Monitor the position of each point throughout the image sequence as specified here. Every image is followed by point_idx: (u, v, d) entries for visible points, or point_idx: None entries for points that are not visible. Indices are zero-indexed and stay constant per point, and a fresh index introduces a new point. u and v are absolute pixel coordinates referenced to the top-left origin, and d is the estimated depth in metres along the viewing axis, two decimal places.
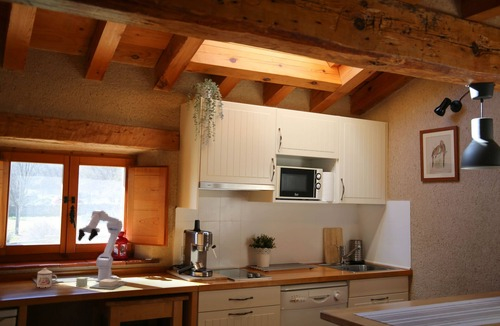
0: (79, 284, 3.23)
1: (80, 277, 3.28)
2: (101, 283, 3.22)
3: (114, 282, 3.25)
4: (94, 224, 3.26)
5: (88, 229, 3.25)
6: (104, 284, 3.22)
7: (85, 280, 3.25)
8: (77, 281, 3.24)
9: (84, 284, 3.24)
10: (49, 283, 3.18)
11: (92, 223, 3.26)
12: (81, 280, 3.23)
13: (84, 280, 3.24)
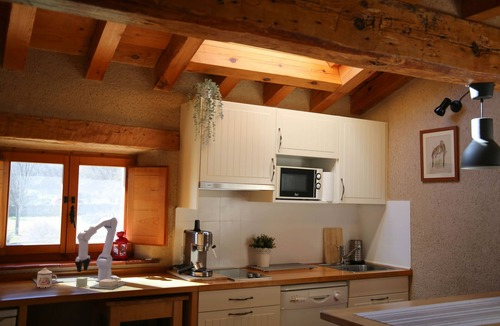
0: (79, 284, 3.23)
1: (80, 277, 3.28)
2: (101, 283, 3.22)
3: (114, 282, 3.25)
4: (79, 252, 3.25)
5: None
6: (104, 284, 3.22)
7: (85, 280, 3.25)
8: (77, 281, 3.24)
9: (84, 284, 3.24)
10: (49, 283, 3.18)
11: None
12: (81, 280, 3.23)
13: (84, 280, 3.24)
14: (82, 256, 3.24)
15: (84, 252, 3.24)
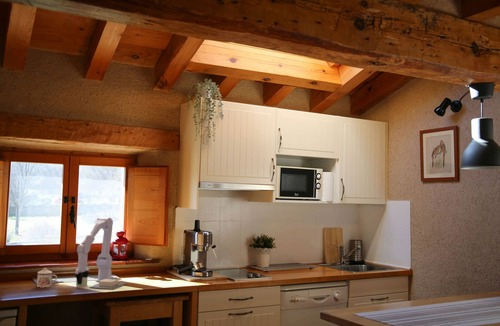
0: (79, 284, 3.23)
1: None
2: (101, 283, 3.22)
3: (114, 282, 3.25)
4: (78, 264, 3.24)
5: None
6: (104, 284, 3.22)
7: (85, 280, 3.25)
8: None
9: (84, 284, 3.24)
10: (49, 283, 3.18)
11: (78, 264, 3.25)
12: None
13: (84, 280, 3.24)
14: (81, 268, 3.23)
15: (83, 264, 3.24)
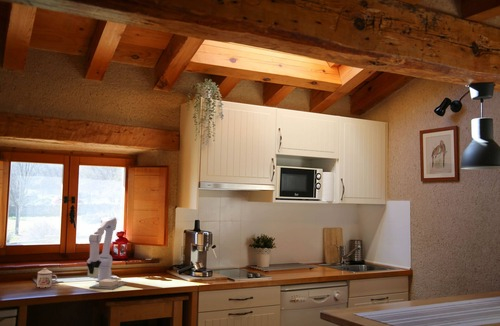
0: (90, 274, 3.24)
1: None
2: (101, 283, 3.22)
3: (114, 282, 3.25)
4: (90, 254, 3.25)
5: None
6: (104, 284, 3.22)
7: (96, 270, 3.26)
8: (88, 271, 3.24)
9: (95, 274, 3.25)
10: (49, 283, 3.18)
11: None
12: None
13: (95, 270, 3.25)
14: (93, 258, 3.24)
15: (95, 254, 3.25)
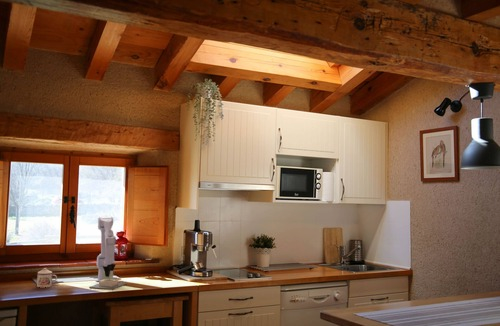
0: (106, 277, 3.24)
1: None
2: (101, 283, 3.22)
3: (114, 282, 3.25)
4: (106, 257, 3.25)
5: None
6: (104, 284, 3.22)
7: (111, 273, 3.27)
8: (104, 274, 3.24)
9: (111, 277, 3.25)
10: (49, 283, 3.18)
11: (105, 257, 3.26)
12: None
13: (111, 273, 3.25)
14: (109, 261, 3.24)
15: (111, 257, 3.25)
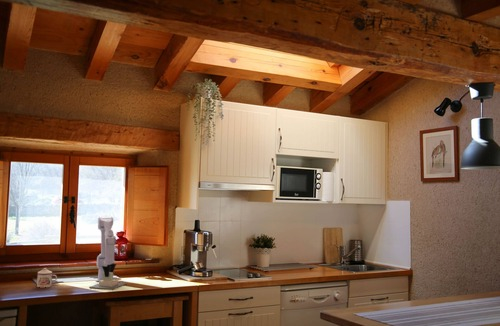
0: (106, 279, 3.24)
1: None
2: (101, 283, 3.22)
3: (114, 282, 3.25)
4: (106, 257, 3.25)
5: None
6: (104, 284, 3.22)
7: (111, 275, 3.26)
8: (104, 276, 3.24)
9: (111, 278, 3.25)
10: (49, 283, 3.18)
11: (105, 257, 3.26)
12: None
13: (111, 275, 3.25)
14: (109, 261, 3.24)
15: (111, 257, 3.25)
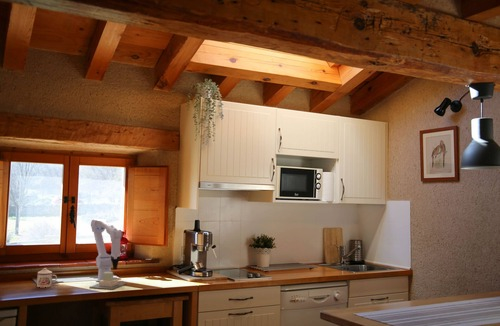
0: (106, 279, 3.24)
1: (106, 272, 3.28)
2: (101, 283, 3.22)
3: (114, 282, 3.25)
4: (113, 250, 3.32)
5: None
6: (104, 284, 3.22)
7: (111, 275, 3.26)
8: (104, 276, 3.24)
9: (111, 278, 3.25)
10: (49, 283, 3.18)
11: (112, 250, 3.33)
12: (108, 275, 3.24)
13: (111, 275, 3.25)
14: (117, 254, 3.33)
15: (118, 250, 3.34)
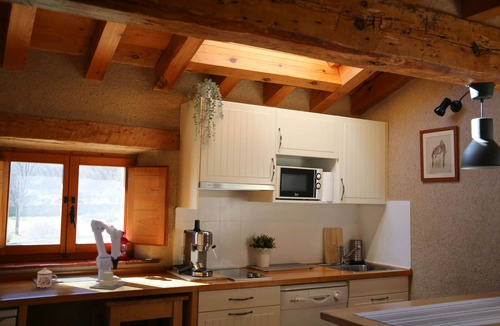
0: (106, 279, 3.24)
1: (106, 272, 3.28)
2: (101, 283, 3.22)
3: (114, 282, 3.25)
4: (113, 250, 3.32)
5: None
6: (104, 284, 3.22)
7: (111, 275, 3.26)
8: (104, 276, 3.24)
9: (111, 278, 3.25)
10: (49, 283, 3.18)
11: (112, 250, 3.33)
12: (108, 275, 3.24)
13: (111, 275, 3.25)
14: (117, 254, 3.33)
15: (118, 250, 3.34)
